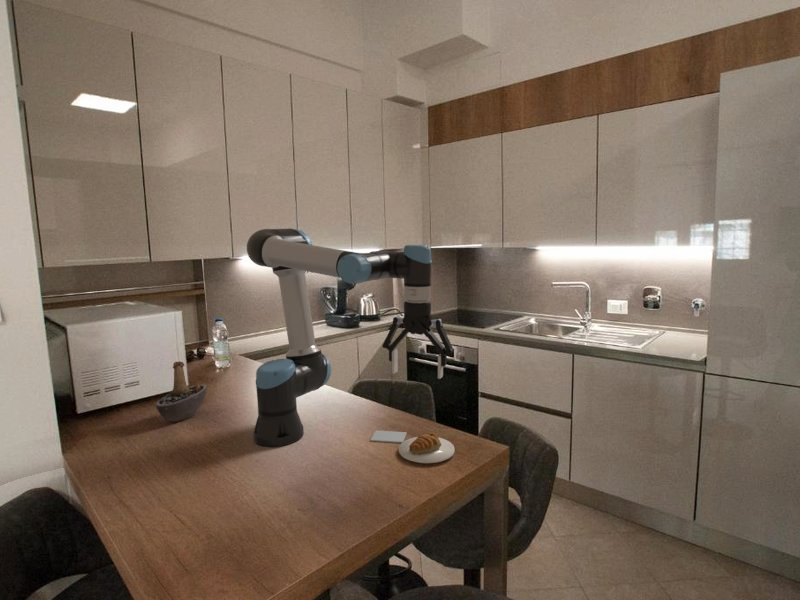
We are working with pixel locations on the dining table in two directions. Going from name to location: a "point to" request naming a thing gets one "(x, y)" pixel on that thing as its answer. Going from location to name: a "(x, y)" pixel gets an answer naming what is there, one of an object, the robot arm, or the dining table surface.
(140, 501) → the dining table surface
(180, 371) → the planter
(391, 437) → the napkin
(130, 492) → the dining table surface
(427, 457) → the plate
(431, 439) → the pastry
